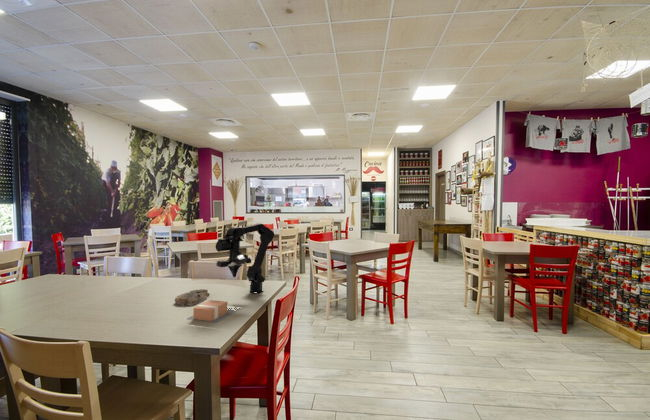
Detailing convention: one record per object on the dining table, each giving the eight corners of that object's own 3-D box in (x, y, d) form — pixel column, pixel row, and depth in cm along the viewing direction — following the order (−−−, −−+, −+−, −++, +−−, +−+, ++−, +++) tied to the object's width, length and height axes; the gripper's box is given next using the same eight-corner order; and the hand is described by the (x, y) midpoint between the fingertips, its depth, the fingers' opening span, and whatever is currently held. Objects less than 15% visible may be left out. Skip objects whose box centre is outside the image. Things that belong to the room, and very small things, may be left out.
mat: (217, 304, 152) (217, 303, 152) (243, 307, 148) (243, 306, 148) (186, 319, 131) (186, 319, 131) (216, 323, 126) (216, 322, 126)
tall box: (210, 300, 142) (193, 307, 131) (227, 301, 140) (211, 309, 128) (210, 310, 142) (193, 318, 131) (227, 312, 140) (211, 321, 128)
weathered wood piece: (195, 294, 171) (170, 304, 152) (196, 286, 171) (170, 295, 152) (216, 296, 168) (193, 307, 149) (216, 288, 168) (193, 297, 149)
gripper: (226, 252, 150) (226, 282, 150) (256, 249, 164) (256, 276, 164) (216, 250, 158) (216, 279, 158) (246, 247, 171) (245, 273, 171)
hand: (234, 277), depth 163 cm, fingers closed
